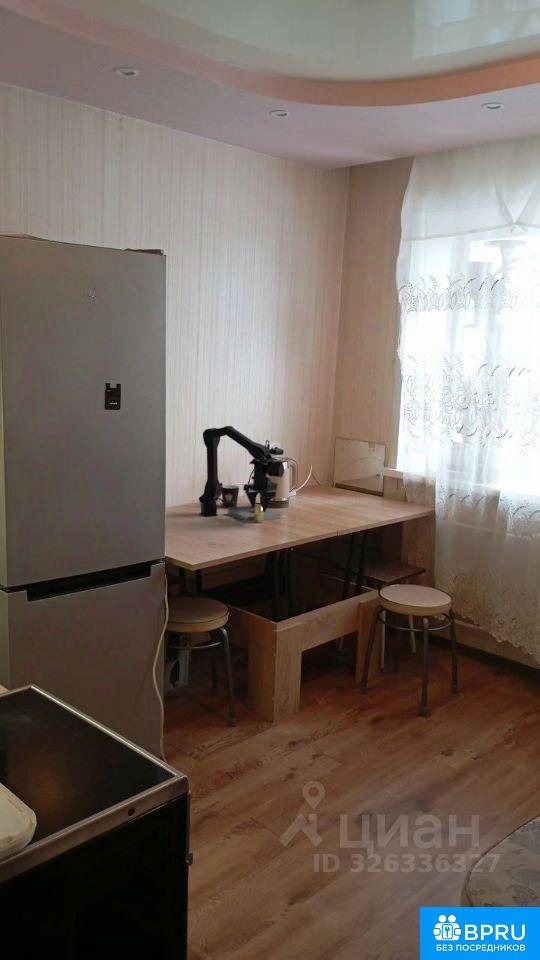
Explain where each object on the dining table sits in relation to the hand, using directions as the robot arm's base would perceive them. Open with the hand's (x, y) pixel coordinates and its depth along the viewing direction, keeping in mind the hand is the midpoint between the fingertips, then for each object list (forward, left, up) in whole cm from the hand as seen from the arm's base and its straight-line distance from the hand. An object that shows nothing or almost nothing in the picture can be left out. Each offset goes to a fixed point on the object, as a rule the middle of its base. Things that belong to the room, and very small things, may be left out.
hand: (258, 509), depth 344 cm
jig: (+4, +11, -6) cm, 13 cm away
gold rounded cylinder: (0, 0, -6) cm, 6 cm away
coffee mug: (+3, +34, -6) cm, 35 cm away
